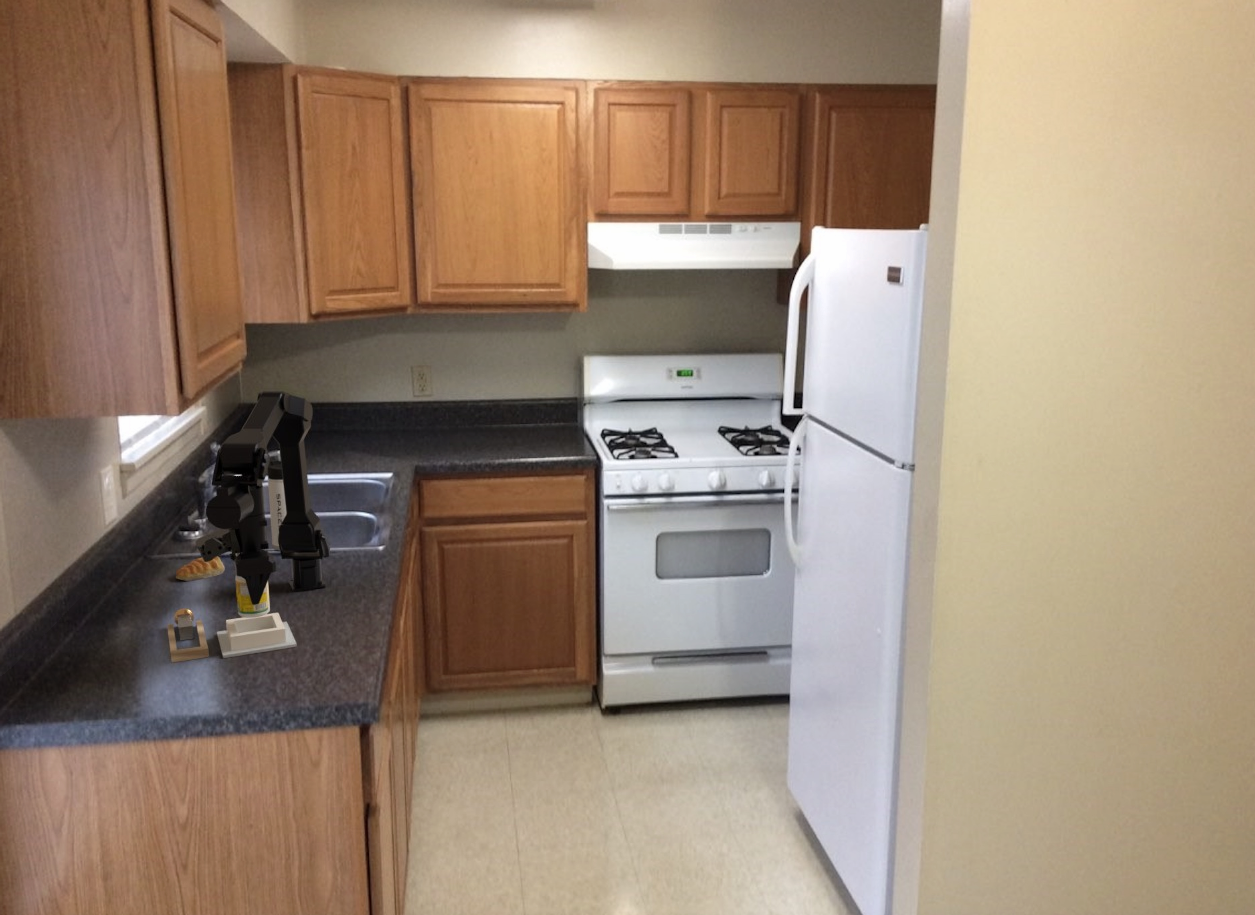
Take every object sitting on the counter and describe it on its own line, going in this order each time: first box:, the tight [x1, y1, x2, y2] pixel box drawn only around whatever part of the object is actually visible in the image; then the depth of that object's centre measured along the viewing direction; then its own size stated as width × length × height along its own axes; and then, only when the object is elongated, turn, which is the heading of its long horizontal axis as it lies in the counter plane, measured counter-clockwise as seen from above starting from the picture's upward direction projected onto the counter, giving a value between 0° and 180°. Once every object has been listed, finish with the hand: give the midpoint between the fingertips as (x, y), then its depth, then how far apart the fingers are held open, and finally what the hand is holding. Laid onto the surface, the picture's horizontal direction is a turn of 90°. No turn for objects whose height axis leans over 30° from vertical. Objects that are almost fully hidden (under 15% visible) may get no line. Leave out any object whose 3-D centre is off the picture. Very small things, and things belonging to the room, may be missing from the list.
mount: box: [166, 619, 210, 663], centre depth 180 cm, size 16×6×2 cm, turn 26°
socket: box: [216, 612, 298, 659], centre depth 181 cm, size 12×12×3 cm
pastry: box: [175, 556, 226, 582], centre depth 216 cm, size 9×7×4 cm
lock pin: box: [173, 608, 195, 641], centre depth 185 cm, size 8×3×3 cm, turn 26°
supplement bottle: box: [234, 574, 271, 618], centre depth 179 cm, size 5×5×10 cm
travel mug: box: [267, 459, 286, 551], centre depth 235 cm, size 6×7×20 cm
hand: (253, 599), depth 180 cm, fingers closed on supplement bottle, 5 cm apart
